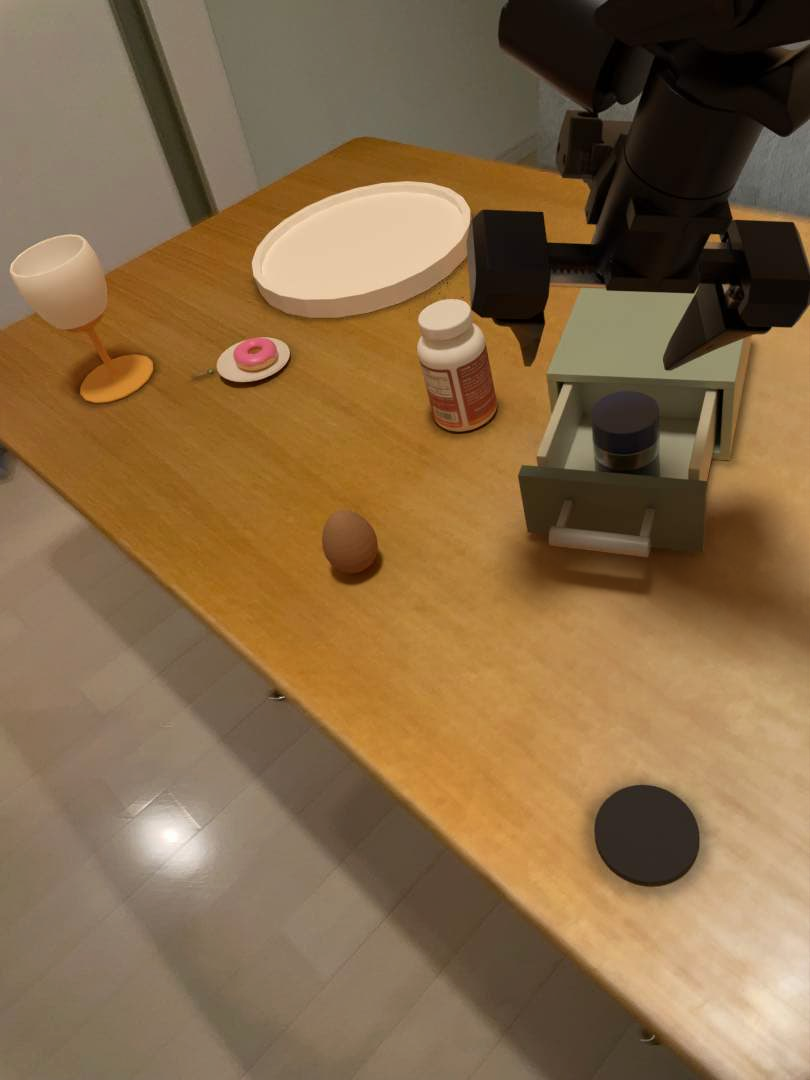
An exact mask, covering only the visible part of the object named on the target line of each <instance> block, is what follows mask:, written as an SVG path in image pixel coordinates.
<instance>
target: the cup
mask: <svg viewBox="0 0 810 1080" xmlns="http://www.w3.org/2000/svg"><path fill="white" fill-rule="evenodd" d="M9 273H10V276H11V279H12V281H13V283H14V285H15V288H16V289H17V291H18V293H20V295H21V296H22V298H23V299H24V300H25V302H26V303H27V304H28V306H29V307H30V308H31V309H32V310H34V312H35V313H37V315H39V317H41V318H42V320H44V321H45V322H46V323H48V324H50V325H51V326H53V327H54V328H55V329H58V330H63V331H67V332H71V333H81V332H85V333H86V334H87V335H88V337H89V339H90V341H91V342H92V344H93V347H94V348H95V349H96V351H97V353H98V355H99V356H100V358H101V360H102V361H103V363H102V364H100V365H98V366H96V367H95V368H94V369H93V370H92V371H90V372H89V374H87V375H86V376H85V378H84V380H83V381H82V383H81V385H80V389H79V390H80V391H79V392H80V393H79V394H80V397H82V398H83V400H84V401H85V402H89V403H92V404H107V403H112V402H116V401H118V400H119V401H120V400H121V399H125V398H127V397H128V396H130V395H132V394H134V393H136V392H137V391H139V390H140V389H141V388H142V387H143V386H144V385H146V384H147V382H148V381H149V380H150V378H151V376H152V375H153V373H154V361H152V360H151V359H150V358H149V357H148V355H147V356H146V355H142V354H136V353H135V354H134V353H133V354H125V355H121V356H118V357H116V358H112V359H111V358H110V356H109V354H108V352H107V351H106V348H105V347H104V345H103V343H102V341H101V340H100V338H99V336H98V334H97V332H96V330H95V326H96V325H98V324H99V323H100V321H102V319H103V317H104V315H105V312H106V310H107V307H108V286H107V282H106V277H105V273H104V270H103V267H102V264H101V262H100V259H99V257H98V255H97V253H96V251H95V250H94V249H93V248H92V246H91V245H90V244H89V242H88V241H87V239H85V238H84V237H83V236H82V235H79V234H71V233H70V234H63V235H56V236H54V237H50V238H47V239H45V240H42V241H39V242H37V243H36V244H34V245H32V246H30V247H28V248H26V249H25V250H24V251H23V252H21V253H20V254H18V256H17V257H16V258H15V259H14V260H13V261H12V262H11V264H10V267H9Z"/></svg>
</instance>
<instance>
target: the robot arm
mask: <svg viewBox="0 0 810 1080" xmlns="http://www.w3.org/2000/svg"><path fill="white" fill-rule="evenodd" d="M497 29H498V30H497V39H498V46H499V48H500V51H501V53H502V54H503V55H504V56H505V57H507V58H508V59H509V60H511V61H512V62H514V63H515V64H517V65H518V66H519V67H521V68H523V69H524V70H526V71H527V72H529V73H530V74H531V75H533V76H535V77H536V78H538V79H539V80H540V81H542V82H544V83H545V84H547V85H548V86H549V87H551V88H553V89H554V90H556V91H557V92H559V93H560V94H561V95H563V96H564V97H566V98H568V99H569V100H570V101H572V102H573V103H575V104H577V105H578V106H579V107H581V108H582V109H584V110H578V109H577V110H576V109H566V111H565V114H564V117H563V121H562V123H561V126H560V130H559V134H558V139H557V146H556V151H555V165H556V168H557V170H558V172H559V174H560V176H561V178H562V179H570V180H571V179H572V180H573V179H574V180H582V182H583V183H584V184H587V187H588V189H589V194H588V197H587V200H586V203H585V206H584V215H585V221H586V224H587V225H592V226H593V225H595V229H594V232H593V236H592V239H591V242H590V243H574V242H573V243H572V242H551V241H549V242H548V238H547V237H548V236H547V231H546V230H547V229H546V223H545V222H546V221H545V214H544V211H535V210H534V211H533V210H532V211H530V210H508V209H481V210H479V211H478V212H477V213H476V214H475V215H474V216H473V217H472V219H471V220H470V225H469V230H468V236H467V242H466V243H467V256H466V258H467V270H468V271H467V272H468V284H469V286H468V287H469V298H470V309H471V312H473V313H475V314H476V315H477V316H479V318H481V319H491V320H492V323H494V324H495V325H497V326H500V327H506V328H510V330H511V332H512V333H513V335H514V337H515V338H516V340H517V342H518V344H519V347H520V352H521V356H522V361H523V366H524V367H529V368H530V367H531V366H532V365H533V363H534V362H535V360H536V358H537V354H538V351H539V347H540V344H541V341H542V337H543V333H544V330H545V326H546V318H545V310H546V306H547V304H548V300H549V297H550V288H574V289H575V288H576V289H578V288H579V289H581V288H602V289H606V291H631V292H660V293H689V294H694V293H695V291H696V289H697V287H698V289H697V291H696V294H695V295H694V297H693V299H692V301H691V302H690V304H689V306H688V308H687V310H686V311H685V313H684V315H683V317H682V319H681V320H680V322H679V324H678V326H677V328H676V329H675V331H674V333H673V335H672V337H671V339H670V340H669V343H668V345H667V348H666V350H665V353H664V356H663V364H664V369H665V370H667V371H671V370H673V369H675V368H678V367H680V366H682V365H684V364H686V363H688V362H690V361H692V360H694V359H696V358H698V357H701V356H703V355H705V354H706V353H709V352H711V351H714V350H716V349H718V348H721V347H723V346H726V345H728V344H731V343H733V342H736V341H738V340H741V339H744V338H746V337H749V336H751V335H752V336H754V335H755V336H756V335H759V336H760V335H761V336H762V335H765V334H767V333H769V331H771V329H772V328H787V329H791V328H793V327H794V326H795V325H796V324H797V323H798V322H799V321H800V319H801V318H802V317H803V315H804V314H805V312H807V310H808V308H809V307H810V264H809V260H808V257H807V253H806V250H805V247H804V244H803V241H802V240H803V239H802V237H801V233H800V232H799V230H798V228H797V226H796V224H795V222H794V221H778V220H756V219H734V218H733V214H732V209H731V206H730V203H729V198H730V197H731V194H732V193H733V191H734V189H735V186H736V184H737V182H738V180H739V178H740V177H741V174H742V172H743V170H744V168H745V166H746V163H747V162H748V159H749V157H750V156H751V153H752V152H753V149H754V148H755V145H756V144H757V142H758V139H759V138H760V136H761V133H762V132H763V130H764V128H766V129H767V130H769V131H771V132H772V133H773V134H775V135H777V136H779V137H780V138H788V137H789V136H791V135H792V134H793V133H795V132H796V131H797V130H798V129H800V128H801V127H802V126H804V125H805V124H806V123H807V122H809V121H810V43H808V44H806V45H804V46H801V47H800V48H797V49H789V48H785V47H783V46H788V45H792V44H798V43H803V42H808V41H810V0H508V1H507V2H506V3H505V4H504V5H503V6H502V8H501V10H500V15H499V20H498V28H497ZM639 96H640V98H639V101H638V103H637V107H636V109H635V112H634V116H633V119H632V120H631V121H628V120H608V119H606V120H605V119H604V120H603V119H601V118H600V117H599V114H600V113H603V112H605V111H607V110H608V109H610V108H611V107H613V106H614V105H615V104H616V103H617V104H619V105H621V106H625V105H628V104H630V103H632V102H633V101H634V100H635V99H637V98H638V97H639ZM711 235H716V236H717V235H719V239H720V241H709V239H710V237H711ZM698 285H699V286H698ZM752 336H751V337H752Z"/></svg>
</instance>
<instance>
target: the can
mask: <svg viewBox="0 0 810 1080" xmlns="http://www.w3.org/2000/svg"><path fill="white" fill-rule="evenodd" d="M591 424H592V439H593V451H594V461H595V471H597V472H608V473H620V474H631V475H643V476H654V477H660V424H659V406H658V404H657V402H656V401H655V400H654V399H653V398H652V397H650V396H648V395H646V394H644V393H640V392H635V391H622V392H616V393H612V394H609V395H607V396H605V397H603V398H602V399H600V400H599V401H598V402H597V403H596V404H595V405H594V406H593V408H592V411H591Z"/></svg>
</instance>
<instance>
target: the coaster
mask: <svg viewBox="0 0 810 1080" xmlns="http://www.w3.org/2000/svg"><path fill="white" fill-rule="evenodd" d="M593 828H594V831H593V832H594V840H595V844H596V848H597V851H598V853H599V855H600V857H601V858H602V860H603V862H604V863H605V864H606V866H607V867H608V868H609V869H610V870H611V871H612V872H614V873H615V874H616V875H617V876H619V877H621V878H622V879H624V880H626V881H628V882H631V883H634V884H636V885H642V886H652V887H653V886H662V885H666V884H669V883H672V882H674V881H677V880H678V879H679V878H681V877H683V876H684V875H685V874H686V873H687V872H688V871H689V870H690V869H691V867H692V866H693V865H694V863H695V861H696V859H697V856H698V853H699V850H700V838H701V837H700V829H699V825H698V822H697V819H696V817H695V815H694V813H693V811H692V810H691V808H690V807H689V806H688V805H687V804H686V802H685V801H683V800H682V799H681V798H680V797H679V796H677V795H676V794H674V793H672V792H671V791H670V790H667V789H665V788H662V787H660V786H656V785H650V784H634V785H630V786H626V787H622V788H621V789H619V790H617V791H615V792H613V793H612V794H611V795H609V797H607V798H606V800H604V801H603V802H602V804H601V805H600V807H599V809H598V811H597V813H596V816H595V820H594V827H593Z"/></svg>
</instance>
